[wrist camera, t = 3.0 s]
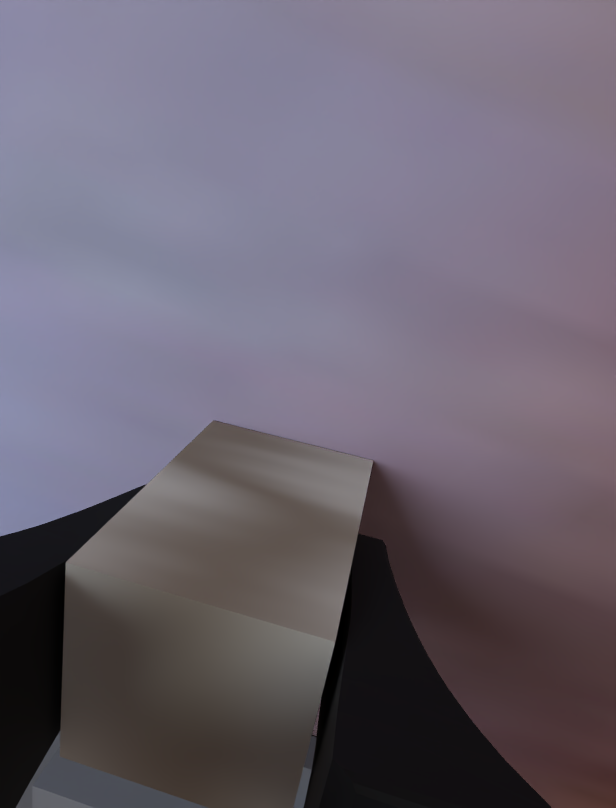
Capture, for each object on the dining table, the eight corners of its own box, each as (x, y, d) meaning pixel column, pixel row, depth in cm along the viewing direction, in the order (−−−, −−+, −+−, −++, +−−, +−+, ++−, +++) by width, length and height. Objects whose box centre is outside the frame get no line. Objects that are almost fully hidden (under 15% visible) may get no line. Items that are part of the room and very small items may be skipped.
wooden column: (196, 555, 15) (59, 756, 9) (213, 420, 14) (65, 562, 8) (339, 596, 14) (286, 834, 9) (373, 460, 13) (335, 642, 7)
